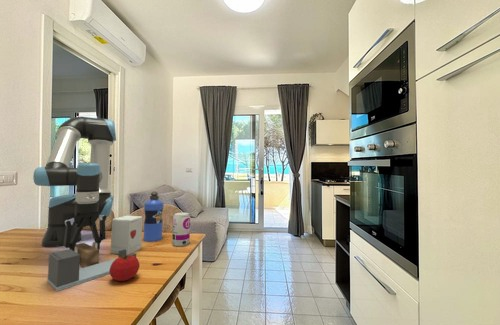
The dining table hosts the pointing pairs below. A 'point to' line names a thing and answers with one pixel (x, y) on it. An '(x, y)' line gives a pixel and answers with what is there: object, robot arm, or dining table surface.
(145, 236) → the water bottle
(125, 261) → the tomato
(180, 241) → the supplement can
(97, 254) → the walnut slat
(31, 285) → the dining table surface
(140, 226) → the supplement box
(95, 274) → the board
